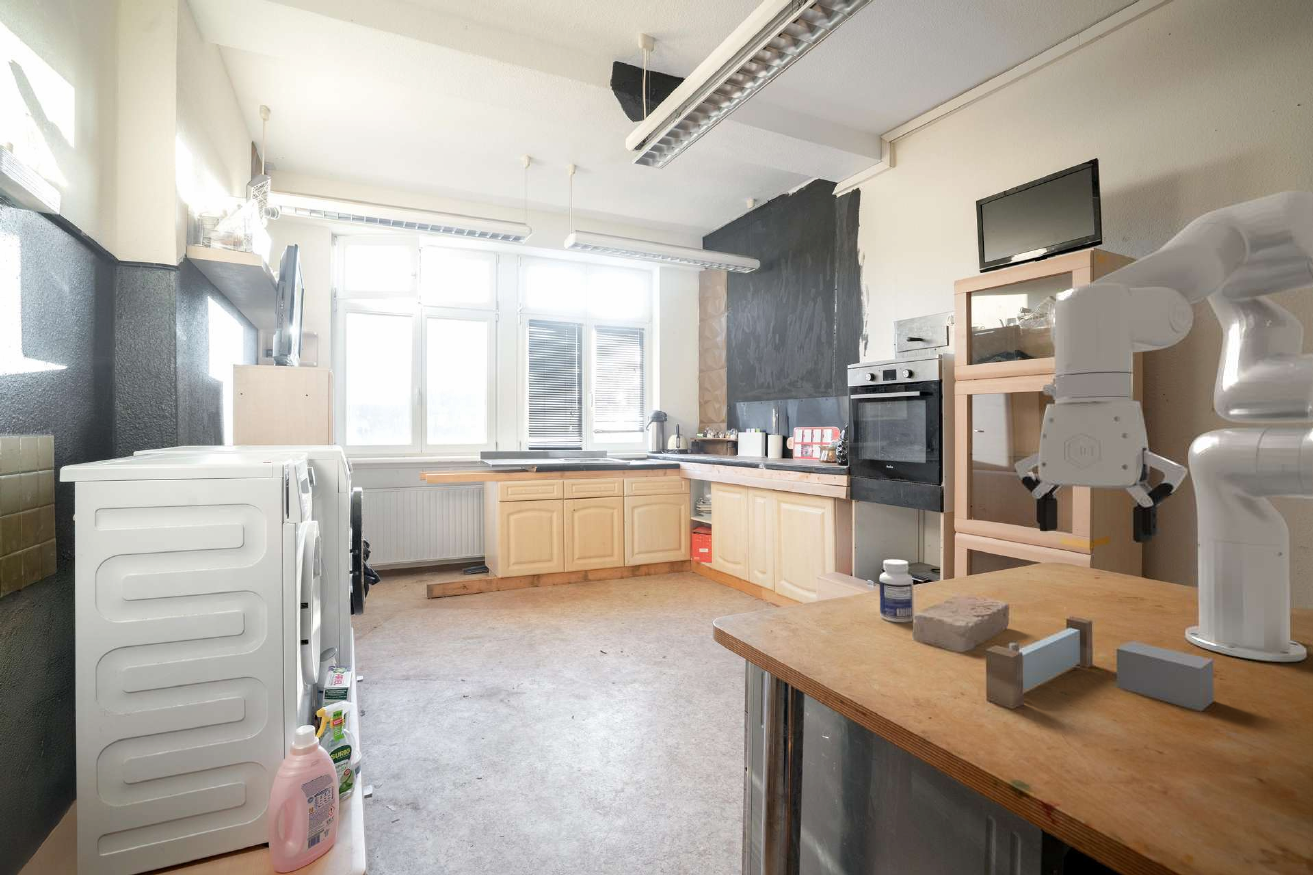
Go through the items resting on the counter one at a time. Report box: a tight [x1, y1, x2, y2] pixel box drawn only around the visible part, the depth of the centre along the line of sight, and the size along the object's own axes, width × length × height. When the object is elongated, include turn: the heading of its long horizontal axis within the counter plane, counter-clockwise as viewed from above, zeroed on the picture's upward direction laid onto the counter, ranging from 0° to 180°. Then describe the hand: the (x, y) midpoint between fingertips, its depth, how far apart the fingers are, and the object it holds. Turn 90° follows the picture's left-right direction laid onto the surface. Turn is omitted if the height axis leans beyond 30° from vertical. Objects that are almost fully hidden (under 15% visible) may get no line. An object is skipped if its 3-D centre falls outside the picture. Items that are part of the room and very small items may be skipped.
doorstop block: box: [1116, 640, 1215, 712], centre depth 73 cm, size 4×8×5 cm, turn 34°
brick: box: [911, 594, 1011, 653], centre depth 96 cm, size 17×8×5 cm, turn 130°
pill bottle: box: [879, 559, 915, 623], centre depth 105 cm, size 5×5×10 cm
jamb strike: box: [1065, 616, 1094, 668], centre depth 83 cm, size 2×2×6 cm
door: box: [1008, 628, 1080, 693], centre depth 78 cm, size 17×2×6 cm, turn 124°
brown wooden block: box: [985, 645, 1024, 710], centre depth 72 cm, size 2×3×6 cm
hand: (1092, 535), depth 72 cm, fingers open, 9 cm apart
